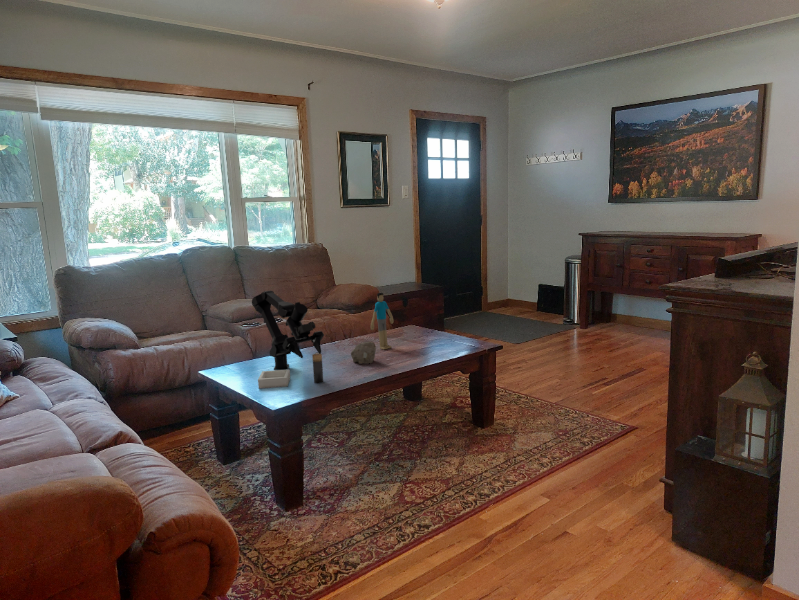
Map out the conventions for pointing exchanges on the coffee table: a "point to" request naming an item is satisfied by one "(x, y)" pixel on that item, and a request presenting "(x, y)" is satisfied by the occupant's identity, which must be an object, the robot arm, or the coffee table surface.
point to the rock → (364, 353)
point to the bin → (274, 379)
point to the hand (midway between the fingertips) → (311, 355)
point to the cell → (317, 367)
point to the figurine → (381, 320)
